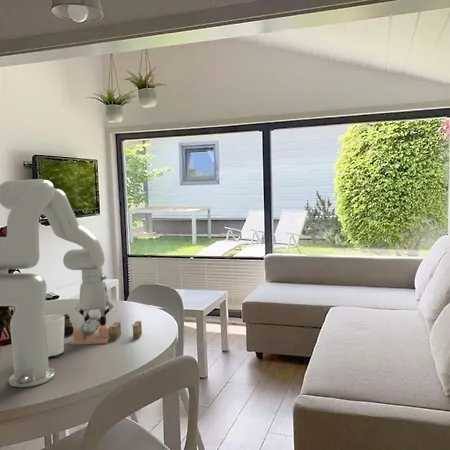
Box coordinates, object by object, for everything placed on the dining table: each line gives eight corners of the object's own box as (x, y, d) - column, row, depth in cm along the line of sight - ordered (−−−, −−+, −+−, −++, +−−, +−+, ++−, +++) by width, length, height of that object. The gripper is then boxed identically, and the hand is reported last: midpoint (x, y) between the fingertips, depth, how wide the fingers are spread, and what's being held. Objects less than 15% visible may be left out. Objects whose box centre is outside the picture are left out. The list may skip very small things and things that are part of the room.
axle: (94, 336, 166) (94, 322, 165) (80, 335, 166) (81, 322, 165) (103, 326, 178) (104, 313, 177) (91, 325, 178) (91, 313, 177)
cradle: (106, 343, 166) (105, 331, 165) (71, 344, 166) (70, 332, 165) (113, 334, 176) (112, 322, 175) (80, 335, 176) (79, 324, 175)
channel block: (138, 338, 169) (138, 325, 169) (111, 339, 169) (111, 326, 169) (141, 333, 175) (141, 320, 174) (116, 334, 175) (115, 321, 175)
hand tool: (74, 335, 177) (73, 323, 177) (63, 337, 176) (62, 325, 176) (73, 323, 195) (72, 312, 195) (63, 324, 194) (62, 313, 193)
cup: (37, 352, 159) (34, 316, 158) (66, 348, 162) (64, 312, 161) (36, 362, 150) (33, 324, 149) (67, 357, 153) (64, 319, 152)
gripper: (117, 276, 177) (120, 322, 178) (73, 278, 177) (76, 324, 179) (112, 280, 170) (115, 328, 171) (66, 282, 170) (70, 330, 171)
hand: (95, 325), depth 175 cm, fingers closed on axle, 5 cm apart
